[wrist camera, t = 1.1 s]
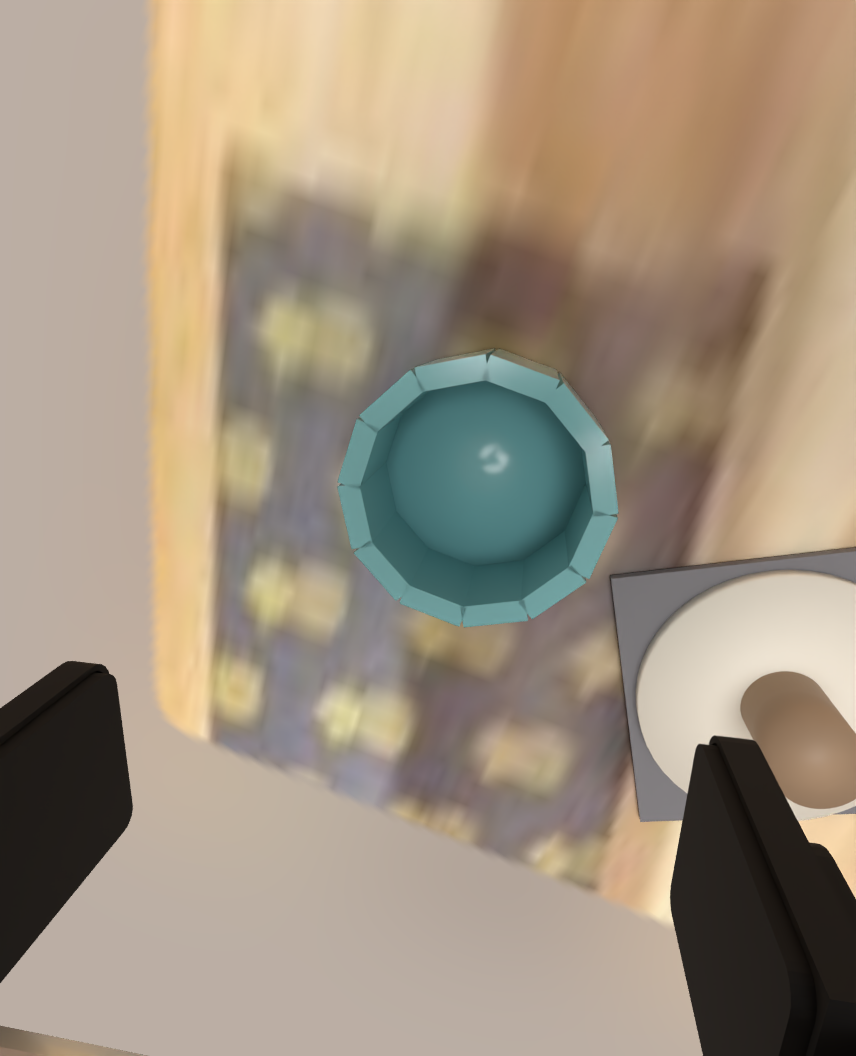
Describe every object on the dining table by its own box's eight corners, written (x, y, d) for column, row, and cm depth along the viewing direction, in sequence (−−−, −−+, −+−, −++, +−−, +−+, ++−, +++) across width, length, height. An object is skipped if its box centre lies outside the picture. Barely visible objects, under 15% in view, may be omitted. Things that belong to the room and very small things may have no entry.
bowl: (587, 330, 31) (598, 332, 25) (614, 562, 34) (629, 610, 28) (352, 375, 33) (314, 386, 28) (398, 587, 36) (372, 636, 31)
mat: (937, 537, 31) (943, 541, 31) (931, 803, 35) (936, 810, 35) (610, 575, 34) (611, 578, 34) (639, 815, 38) (640, 821, 38)
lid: (931, 552, 31) (1018, 604, 25) (926, 802, 35) (1001, 896, 29) (622, 586, 34) (638, 640, 28) (648, 813, 37) (667, 901, 32)
